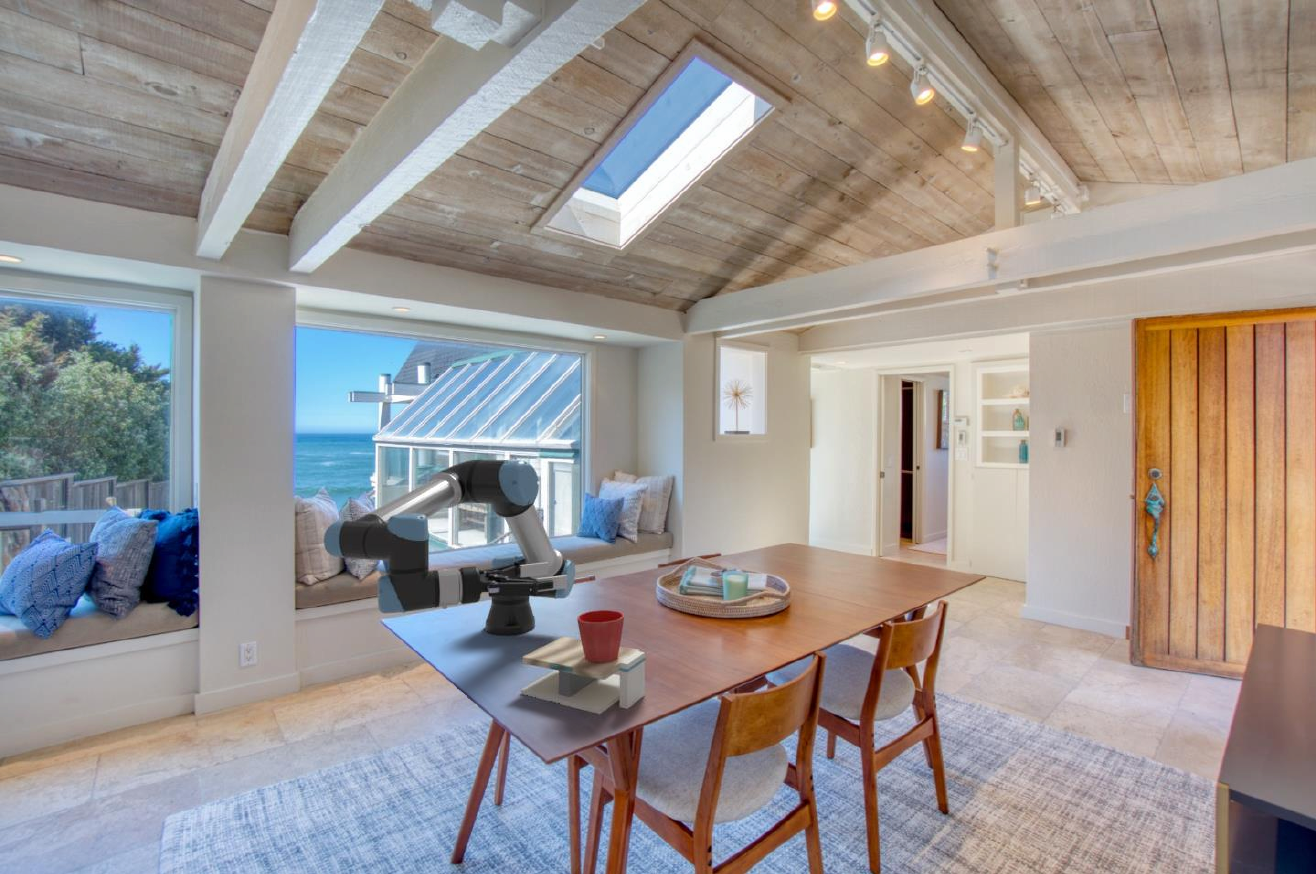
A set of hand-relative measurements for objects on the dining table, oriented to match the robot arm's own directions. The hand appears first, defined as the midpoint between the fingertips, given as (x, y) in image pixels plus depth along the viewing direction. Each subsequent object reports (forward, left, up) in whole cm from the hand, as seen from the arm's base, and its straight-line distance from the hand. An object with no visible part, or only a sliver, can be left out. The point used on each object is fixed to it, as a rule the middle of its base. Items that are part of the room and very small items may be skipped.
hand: (556, 574), depth 135 cm
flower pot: (+6, +9, -21) cm, 23 cm away
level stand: (+3, +9, -29) cm, 31 cm away
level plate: (+1, +9, -22) cm, 24 cm away
